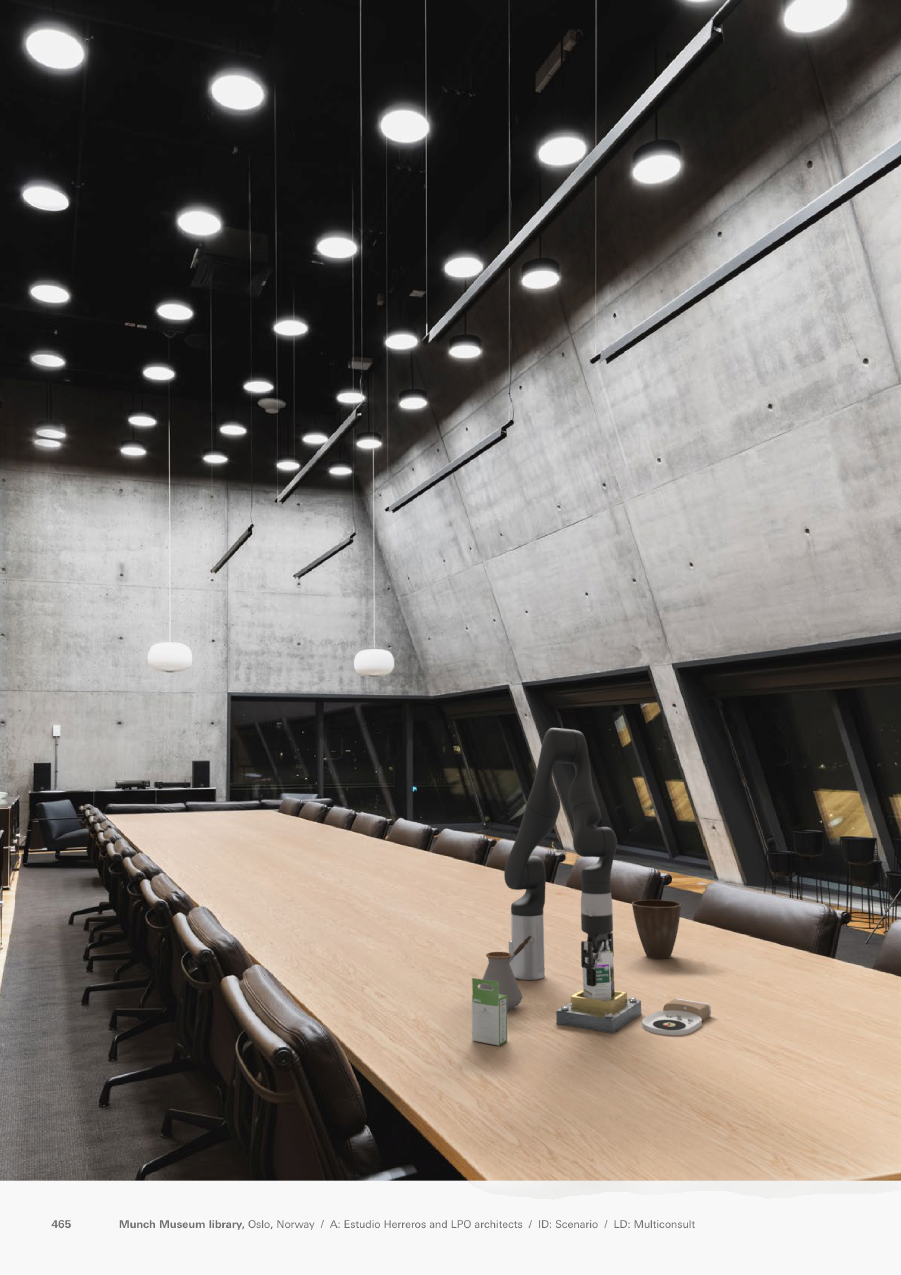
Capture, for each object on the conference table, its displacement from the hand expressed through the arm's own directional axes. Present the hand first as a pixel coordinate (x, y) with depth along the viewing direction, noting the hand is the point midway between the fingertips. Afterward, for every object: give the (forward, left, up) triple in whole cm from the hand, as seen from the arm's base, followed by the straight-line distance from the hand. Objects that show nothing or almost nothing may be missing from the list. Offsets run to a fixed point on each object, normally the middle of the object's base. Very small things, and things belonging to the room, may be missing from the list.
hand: (598, 981), depth 210 cm
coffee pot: (-24, 0, -9) cm, 26 cm away
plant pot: (-10, +70, -9) cm, 71 cm away
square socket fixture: (0, 0, -8) cm, 8 cm away
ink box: (-14, -28, -9) cm, 33 cm away
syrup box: (0, 0, -7) cm, 7 cm away
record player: (+16, +6, -9) cm, 20 cm away
